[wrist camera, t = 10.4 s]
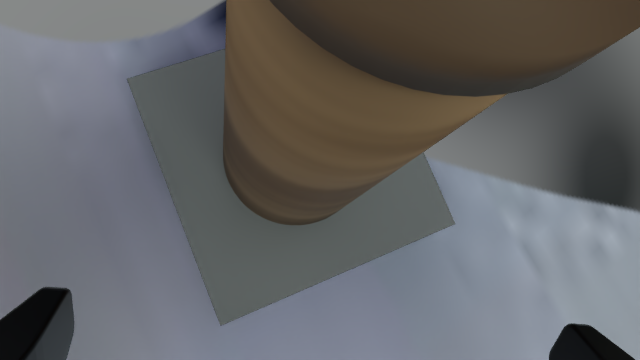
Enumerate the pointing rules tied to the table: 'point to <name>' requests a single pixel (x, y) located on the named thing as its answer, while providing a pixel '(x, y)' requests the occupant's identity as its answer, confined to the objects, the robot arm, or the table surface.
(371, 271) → the table surface
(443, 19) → the walnut canister
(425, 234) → the slate trivet
